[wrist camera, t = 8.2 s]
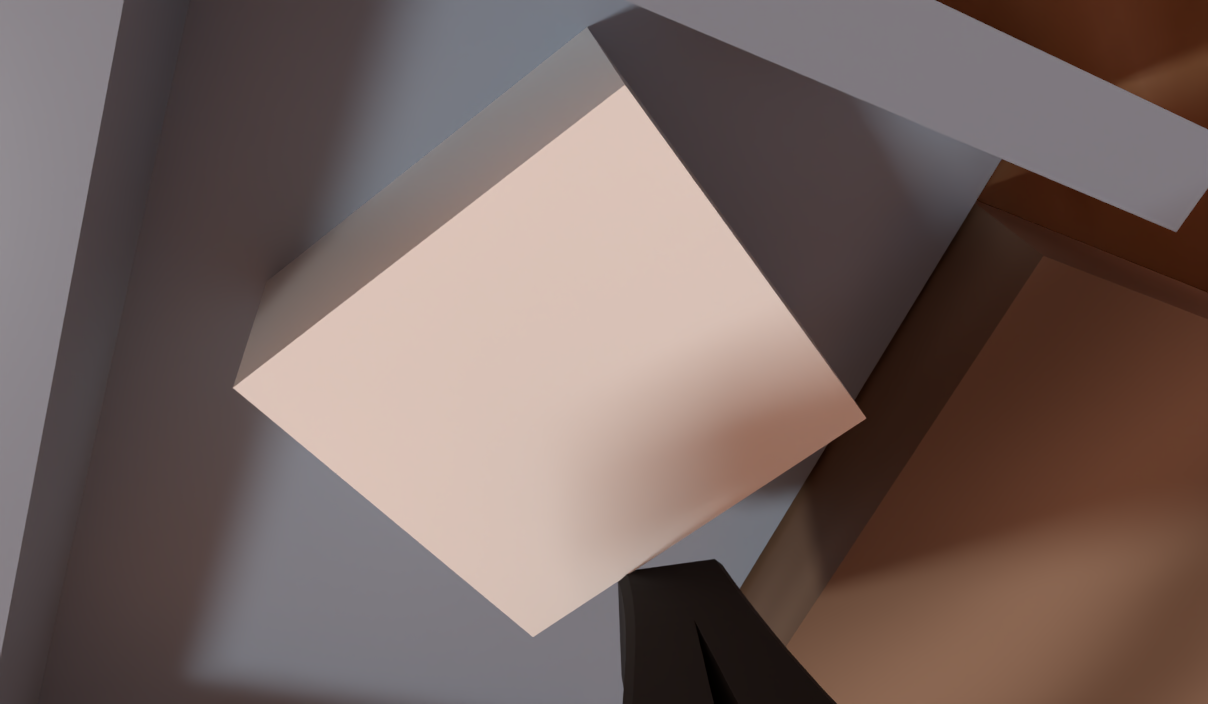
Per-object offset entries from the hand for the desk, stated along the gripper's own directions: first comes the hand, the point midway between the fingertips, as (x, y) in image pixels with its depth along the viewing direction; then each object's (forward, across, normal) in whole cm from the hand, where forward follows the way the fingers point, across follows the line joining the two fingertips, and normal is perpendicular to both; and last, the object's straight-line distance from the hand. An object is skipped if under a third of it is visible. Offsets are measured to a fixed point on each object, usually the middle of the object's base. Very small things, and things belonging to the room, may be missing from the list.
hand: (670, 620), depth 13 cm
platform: (+3, -9, +4) cm, 10 cm away
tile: (+2, +1, -4) cm, 4 cm away
